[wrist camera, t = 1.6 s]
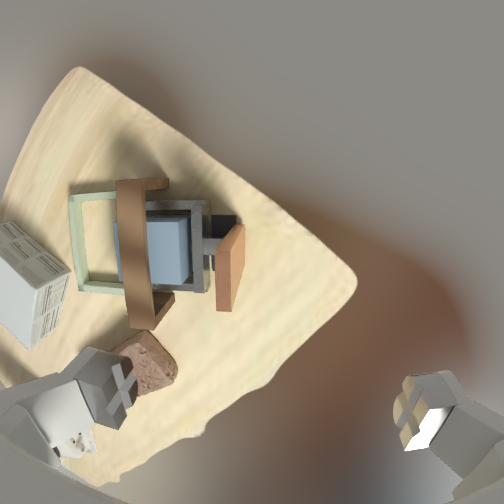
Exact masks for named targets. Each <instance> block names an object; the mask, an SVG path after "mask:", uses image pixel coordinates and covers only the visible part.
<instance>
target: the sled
mask: <svg viewBox="0 0 504 504" xmlns="http://www.w3.org/2000/svg"><path fill="white" fill-rule="evenodd" d="M183 209H191V231H192V258H193V278H187V279H186V280H185V281H184V283H183V284H182V285H171V284H154V283H151V287H152V289H160V290H177V291H194V293H205V292H208V290H209V288H210V263H209V255H215V285H216V311H225V312H231V311H232V307H233V304H234V300H235V297H236V293H237V290H238V286H239V283H240V279H241V276H242V272H243V269H244V265H245V224H235V225H234V226H233V227H232V229H231V230H230V231H229V232H228V234H227V235H226V236H209V221H208V199H204V200H158V201H146V210H183Z"/></svg>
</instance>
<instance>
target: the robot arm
mask: <svg viewBox="0 0 504 504" xmlns="http://www.w3.org/2000/svg"><path fill="white" fill-rule="evenodd" d="M133 368H134V367H133V363H132V360H131V359H130V358H129V357H127V356H123V355H119V354H116V353H112V352H108V351H105V350H100V349H97V348H93V347H85V348H84V349H83V350H82V351H81V352H80V353H79V354H78V355H77V356H76V357H75V359H74V360H73V361H72V362H71V363H70V364H69V365H68V366H67V367H66V368H65V369H64V370H63V371H62V372H61V373H60V374H59V373H57V372H56V373H53V374H50V375H47V376H44V377H41V378H38V379H35V380H32V381H29V382H26V383H23V384H19V385H16V386H13V387H10V388H7V389H3V390H0V504H132V503H129V502H127V501H123V500H121V499H118V498H116V497H113V496H111V495H108V494H106V493H103V492H101V491H99V490H97V489H94V488H92V487H90V486H88V485H86V484H83V483H81V482H79V481H77V480H75V479H73V478H71V477H69V476H68V475H66V474H64V473H62V472H60V471H58V470H56V469H57V468H58V466H59V465H60V463H61V462H60V459H59V457H64V458H71V459H79V458H81V457H82V456H83V455H84V454H85V452H89V453H97V451H98V448H97V445H96V442H95V438H94V435H93V431H92V428H91V426H93V425H94V424H95V423H98V424H101V425H104V426H107V427H110V428H113V429H116V430H119V428H120V427H121V425H122V423H123V422H124V420H125V418H126V417H127V414H126V409H128V408H130V407H132V406H133V405H134V403H135V401H136V398H137V394H138V383H137V379H136V378H135V376H134V375H133V374H132V373H131V371H132V369H133ZM402 387H403V389H404V391H403V392H402V393H401V394H399V395H398V396H397V398H396V401H395V403H394V409H393V416H394V421H395V423H396V425H397V426H399V427H400V428H401V429H402V430H401V433H400V438H401V441H402V444H403V447H404V450H405V451H406V450H412V449H418V448H424V447H428V448H429V449H430V450H431V451H432V452H433V453H434V454H435V455H437V456H438V457H439V458H440V459H441V460H442V461H443V462H444V463H445V464H447V465H448V466H449V467H450V468H451V469H452V470H453V471H455V472H456V473H457V474H458V475H459V476H460V477H461V478H463V480H462V481H461V482H460V484H458V485H457V486H456V487H455V488H454V490H453V492H452V493H453V497H454V500H453V501H450V502H448V503H445V504H504V417H503V416H501V415H499V414H498V413H496V412H494V411H492V410H490V409H488V408H487V407H485V406H483V405H481V404H479V403H478V402H476V401H473V402H471V400H470V399H469V397H468V396H467V394H466V393H465V391H464V389H463V388H462V386H461V385H460V384H459V382H458V380H457V379H456V378H455V376H454V375H453V373H452V372H451V371H449V370H446V371H440V372H435V373H427V374H418V375H409V376H407V377H406V378H405V380H404V382H403V384H402Z"/></svg>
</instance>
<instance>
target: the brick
mask: <svg viewBox="0 0 504 504" xmlns="http://www.w3.org/2000/svg"><path fill="white" fill-rule="evenodd" d="M111 352H112V353H116V354H119V355H123V356H127V357H129V358H130V359H131V360H132V363H133V367H134V368H133V369H132V371H131V373H132V374H133V375H134V376H135V378H136V379H137V383H138V394H137V396H138V397H140V396H141V395H146V394H148V393H149V392H154V391H156V390H159V389H162V388H164V387H166V386H169V385H171V384H173V383H174V379H175V378H176V376H177V373H178V366H177V365H176V363H175V361H174V360H173V359H172V357H171V356H170V355H169V354H168V353H167V352H166V351H165V350H164V349H163V347H162V346H161V344H160V343H159V342H158V341H156V340H155V339H154V338H153V336H152V335H151V334H150V333H149V332H148V331H147V330H143V331H140V332H139V333H138V334H136V335H135V336H134V337H133V338H130V339H128V340H127V341H126V342H124V343H123V344H121V345H120V346H118V347H117V348H115V349H114V350H113V351H111Z"/></svg>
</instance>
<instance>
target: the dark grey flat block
mask: <svg viewBox="0 0 504 504" xmlns="http://www.w3.org/2000/svg"><path fill="white" fill-rule="evenodd" d="M235 224H236V216H235V215H212V236H226V235H227V234H228V232H229V231H230V230H231V229H232V227H233V226H234V225H235ZM212 264H213V271H215V255H212Z"/></svg>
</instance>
